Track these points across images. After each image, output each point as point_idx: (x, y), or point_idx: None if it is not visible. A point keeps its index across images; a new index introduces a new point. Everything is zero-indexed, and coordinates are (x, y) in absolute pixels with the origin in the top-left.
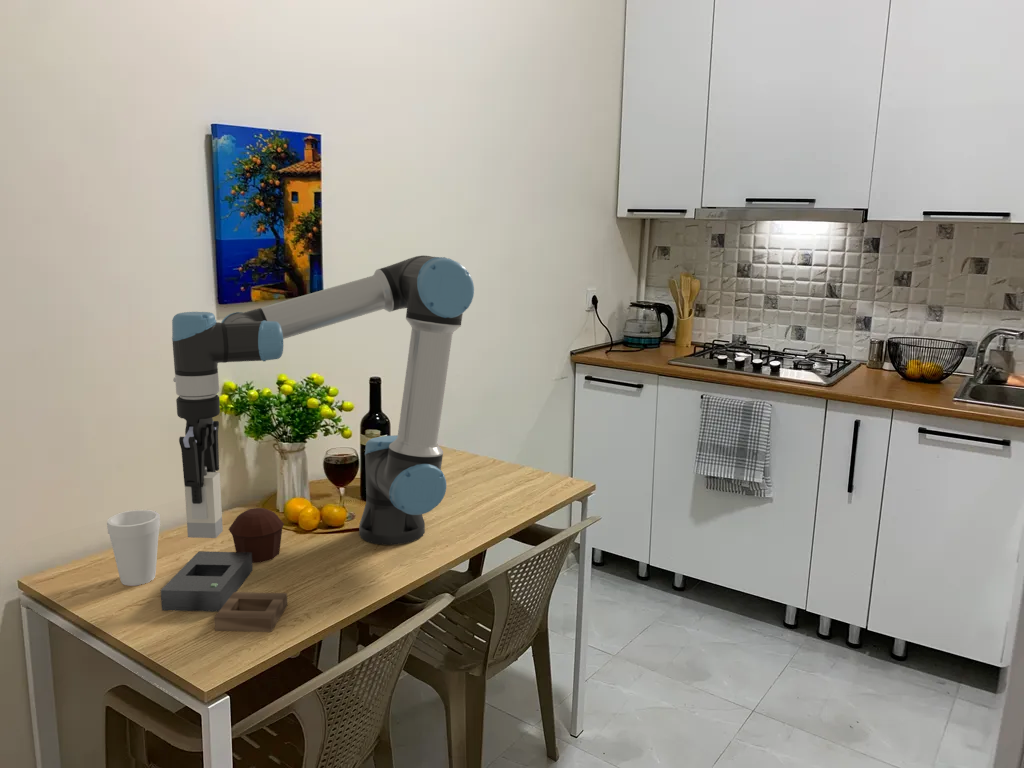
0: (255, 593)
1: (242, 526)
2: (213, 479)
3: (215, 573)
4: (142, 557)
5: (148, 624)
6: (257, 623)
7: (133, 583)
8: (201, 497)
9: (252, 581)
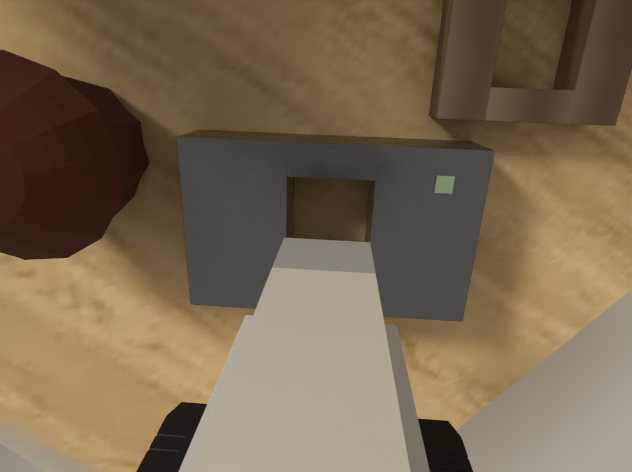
0: (455, 38)
1: (82, 202)
2: None
3: (289, 219)
4: None
5: (519, 297)
6: None
7: None
8: (425, 450)
9: (273, 107)
